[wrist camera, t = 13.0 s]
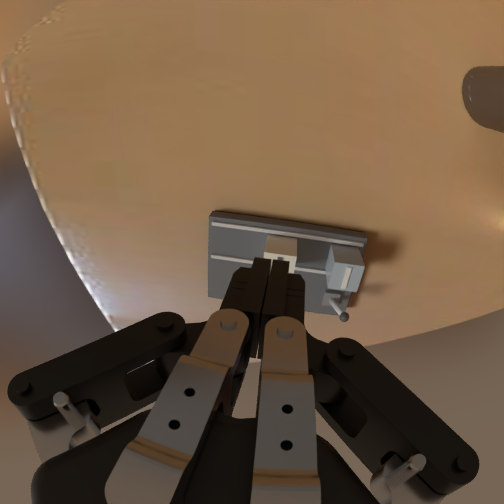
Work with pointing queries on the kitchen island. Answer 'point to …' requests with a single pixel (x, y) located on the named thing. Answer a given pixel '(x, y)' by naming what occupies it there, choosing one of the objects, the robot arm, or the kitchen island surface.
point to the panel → (253, 245)
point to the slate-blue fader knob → (344, 268)
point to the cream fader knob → (281, 249)
